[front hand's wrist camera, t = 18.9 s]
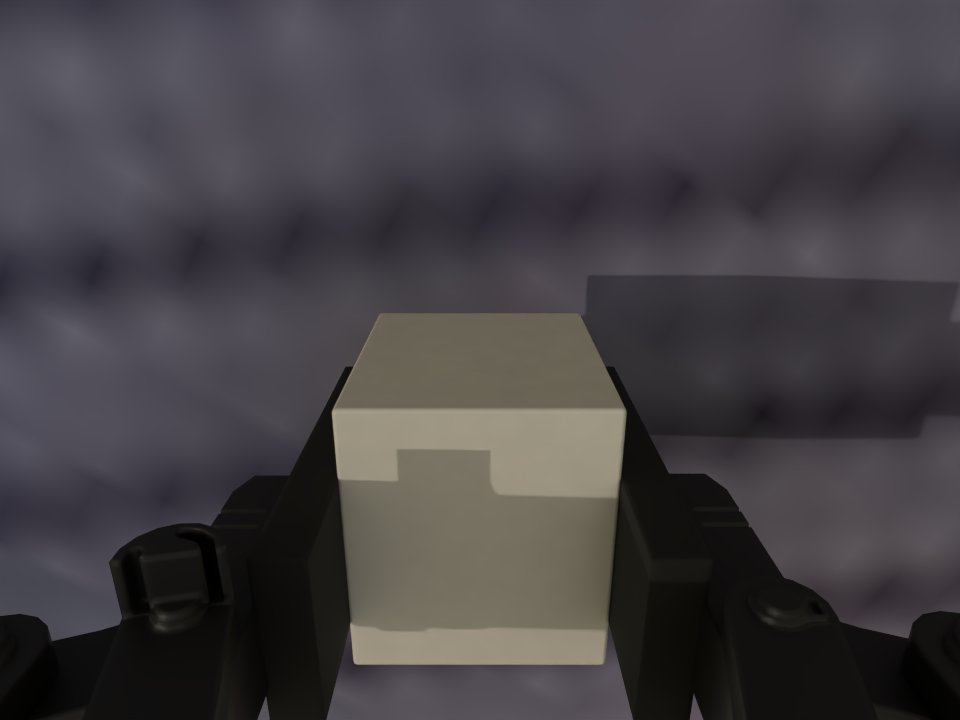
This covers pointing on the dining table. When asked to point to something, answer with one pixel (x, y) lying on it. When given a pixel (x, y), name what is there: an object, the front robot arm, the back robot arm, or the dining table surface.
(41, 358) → the dining table surface
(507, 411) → the block
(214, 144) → the dining table surface
